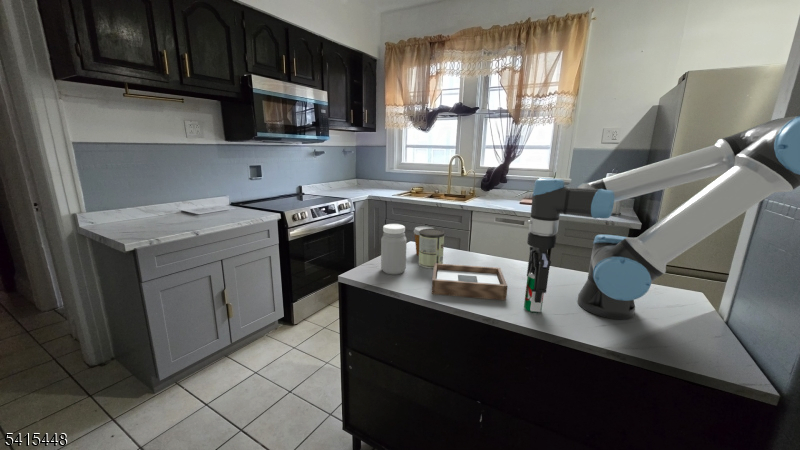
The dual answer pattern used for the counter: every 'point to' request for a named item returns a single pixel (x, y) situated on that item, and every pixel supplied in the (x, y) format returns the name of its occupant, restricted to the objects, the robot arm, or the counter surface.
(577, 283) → the counter surface
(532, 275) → the soda can
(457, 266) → the open box
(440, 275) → the socket plate
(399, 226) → the jar
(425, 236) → the coffee can
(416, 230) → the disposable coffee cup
